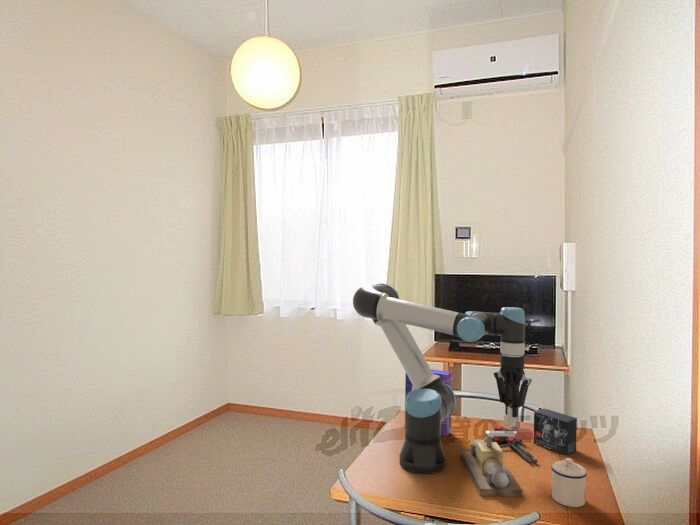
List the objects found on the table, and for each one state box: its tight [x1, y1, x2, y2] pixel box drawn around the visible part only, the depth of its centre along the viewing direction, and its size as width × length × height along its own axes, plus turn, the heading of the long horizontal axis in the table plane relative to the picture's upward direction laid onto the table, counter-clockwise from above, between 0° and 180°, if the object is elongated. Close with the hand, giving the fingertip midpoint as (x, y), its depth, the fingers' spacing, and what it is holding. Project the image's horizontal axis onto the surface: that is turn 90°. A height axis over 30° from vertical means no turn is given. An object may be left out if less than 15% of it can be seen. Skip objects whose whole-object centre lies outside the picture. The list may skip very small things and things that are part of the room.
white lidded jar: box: [551, 457, 588, 508], centre depth 134 cm, size 12×9×12 cm
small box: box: [533, 407, 578, 456], centre depth 170 cm, size 13×7×12 cm, turn 37°
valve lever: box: [484, 427, 534, 441], centre depth 147 cm, size 14×3×2 cm, turn 89°
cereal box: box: [404, 368, 453, 438], centre depth 185 cm, size 17×5×24 cm, turn 59°
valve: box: [483, 424, 538, 464], centre depth 168 cm, size 6×26×15 cm
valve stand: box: [460, 437, 523, 497], centre depth 148 cm, size 12×26×12 cm, turn 179°
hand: (511, 425), depth 154 cm, fingers closed
